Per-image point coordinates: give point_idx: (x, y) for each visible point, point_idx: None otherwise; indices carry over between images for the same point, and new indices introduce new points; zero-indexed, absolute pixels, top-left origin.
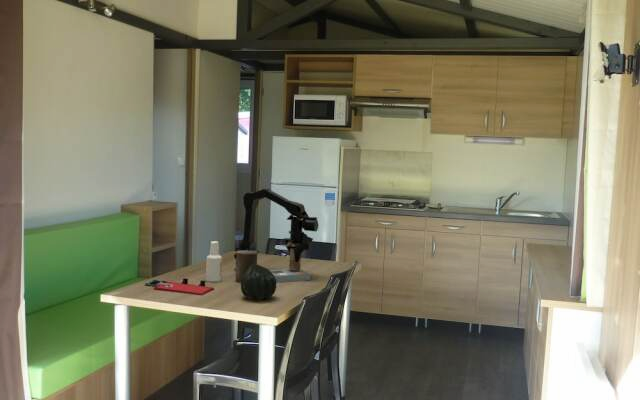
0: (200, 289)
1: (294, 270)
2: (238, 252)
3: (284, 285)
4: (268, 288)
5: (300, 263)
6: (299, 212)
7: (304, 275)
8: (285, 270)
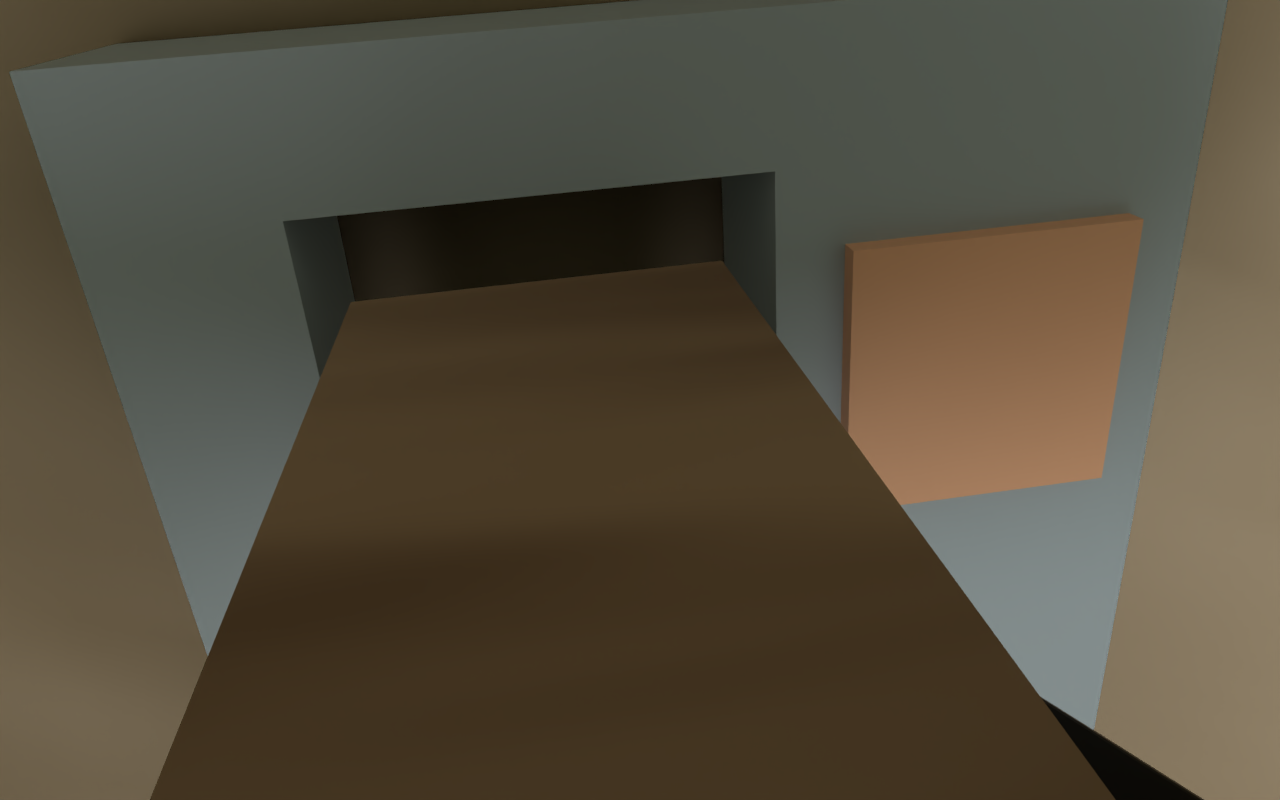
0: None
1: (314, 332)
2: None
3: (1252, 765)
4: None
5: (805, 382)
6: None
7: (1156, 236)
8: None
